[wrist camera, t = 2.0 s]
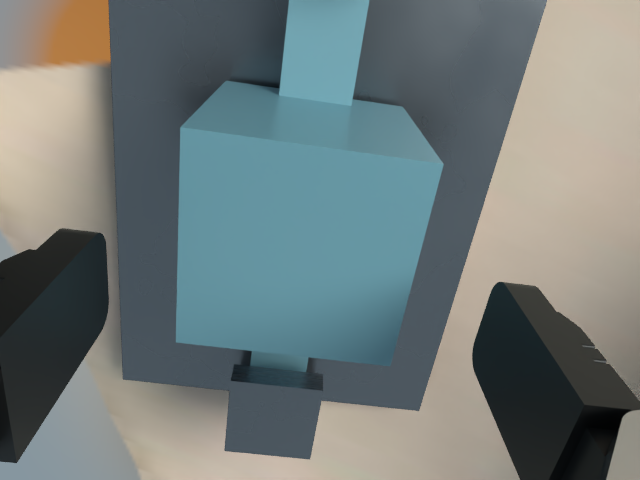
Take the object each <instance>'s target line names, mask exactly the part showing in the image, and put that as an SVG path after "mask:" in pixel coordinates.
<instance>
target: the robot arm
mask: <svg viewBox="0 0 640 480" xmlns="http://www.w3.org/2000/svg"><path fill="white" fill-rule="evenodd" d="M108 305H109V296H108V274H107V253H106V241H105V238H104V236H103V234H101V233H96V232H88V231H80V230H71V229H59V230H58V231H57V232H56V233H54V234H53V235H52V236H51V237H50V238H49V239H48V240H47V241H46V242H44V243H43V244H42V245H41V246H40V247H39V248H38V249H37V250H31V249H28V250H26V251H24V252H22V253H19V254H17V255H15V256H12V257H10V258H8V259H5V260H3V261H2V262H1V263H0V461H1V462H13V463H17V462H18V460H19V459H20V457H21V456H22V454H23V452H24V451H25V449H26V448H27V446H28V445H29V443H30V441H31V440H32V438H33V437H34V435H35V434H36V432H37V431H38V429H39V427H40V426H41V424H42V423H43V421H44V419H45V418H46V416H47V415H48V414H49V412H50V410H51V409H52V407H53V406H54V404H55V403H56V401H57V400H58V398H59V396H60V395H61V393H62V392H63V390H64V389H65V387H66V385H67V384H68V382H69V381H70V379H71V378H72V376H73V374H74V373H75V371H76V370H77V368H78V367H79V365H80V364H81V362H82V361H83V359H84V357H85V356H86V354H87V353H88V351H89V350H90V348H91V347H92V345H93V343H94V342H95V340H96V339H97V337H98V336H99V334H100V333H101V331H102V329H103V327H104V324H105V321H106V317H107V313H108ZM594 346H595V345H594V344H593V343H592V342H591V340H590V339H589V338H588V337H587V335H586V334H585V333H584V332H583V330H582V329H581V328H580V327H578V326H577V325H576V324H574V323H573V322H572V321H570V320H569V319H568V318H566V317H565V316H563V315H562V314H561V313H559V312H556V311H555V309H554V308H553V307H552V305H551V304H550V303H549V301H548V300H547V299H546V298H545V296H544V295H543V294H542V292H541V291H540V290H539V289H538V288H537V287H536V286H530V285H522V284H514V283H505V282H498V283H497V284H496V285H495V286H494V287H493V289H492V291H491V294H490V297H489V300H488V303H487V306H486V309H485V312H484V315H483V318H482V321H481V324H480V327H479V330H478V333H477V336H476V339H475V342H474V346H473V355H472V360H473V368H474V372H475V374H476V377H477V379H478V381H479V384H480V386H481V388H482V391H483V393H484V395H485V398H486V400H487V403H488V405H489V407H490V410H491V412H492V414H493V417H494V419H495V421H496V424H497V426H498V428H499V431H500V433H501V435H502V438H503V440H504V443H505V445H506V447H507V450H508V452H509V454H510V457H511V459H512V461H513V464H514V466H515V468H516V471H517V473H518V475H519V478H520V480H640V401H639V400H638V399H637V398H636V397H635V395H634V394H633V393H632V392H631V390H630V389H629V388H628V387H627V385H626V384H625V383H624V382H623V380H622V379H621V378H620V377H619V375H618V374H617V373H616V372H615V370H614V369H613V368H612V367H611V365H610V364H606V359H605V358H604V357H603V355H602V354H601V353H600V352H599V350H598V349H595V348H594Z"/></svg>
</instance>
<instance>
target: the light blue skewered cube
mask: <svg viewBox="0 0 640 480" xmlns="http://www.w3.org/2000/svg"><path fill="white" fill-rule="evenodd" d="M368 6H369V0H289V6H288V15H287V24H286V34H285V43H284V53H283V62H282V72H281V81H280V88H273V87H266V86H259V85H253V84H246V83H239V82H232V81H225V82H224V83H223V84H222V85H221V86H220V87H219V88H218V89H217V90H216V91H215V92H214V93H213V94H212V95H211V96H210V97H209V98H208V99H207V100H206V102H205V103H204V104H203V105H202V106H201V107H200V108H199V109H198V110H197V111H196V112H195V113H194V114H193V115H192V116H191V117H190V118H189V119H188V120H187V121H186V122H185V123H184V124H183V125H182V126H181V127H180V170H179V216H178V262H177V309H176V343H185V344H194V345H203V346H212V347H221V348H230V349H239V350H248V351H252V354H251V363H250V366H255V367H265V368H274V369H283V370H292V371H301V372H306V370H307V364H308V358H309V357H311V358H319V359H328V360H337V361H346V362H355V363H364V364H373V365H382V366H391V362H392V358H393V354H394V350H395V347H396V343H397V339H398V335H399V331H400V328H401V324H402V320H403V316H404V313H405V309H406V305H407V301H408V297H409V294H410V290H411V286H412V282H413V278H414V275H415V271H416V267H417V263H418V260H419V256H420V252H421V248H422V244H423V241H424V237H425V233H426V229H427V226H428V222H429V218H430V214H431V210H432V207H433V203H434V199H435V195H436V191H437V188H438V184H439V180H440V176H441V173H442V169H443V165H444V164H443V162H442V161H441V160H440V158H439V157H438V155H437V154H436V153H435V151H434V150H433V148H432V147H431V145H430V144H429V143H428V141H427V140H426V138H425V137H424V136H423V134H422V133H421V131H420V130H419V129H418V127H417V126H416V124H415V123H414V122H413V120H412V119H411V117H410V116H409V115H408V113H407V112H406V110H405V109H404V107H402V106H395V105H388V104H382V103H375V102H368V101H361V100H354V99H353V94H354V88H355V82H356V76H357V70H358V64H359V58H360V53H361V47H362V41H363V35H364V29H365V23H366V17H367V12H368Z"/></svg>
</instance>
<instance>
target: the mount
mask: <svg viewBox="0 0 640 480" xmlns="http://www.w3.org/2000/svg"><path fill="white" fill-rule="evenodd" d="M546 2H547V0H369V6H368V12H367V17H366V23H365V29H364V35H363V41H362V47H361V53H360V58H359V64H358V70H357V76H356V82H355V88H354V94H353V99H354V100H361V101H368V102H375V103H382V104H388V105H395V106H402V107H404V109H405V110H406V112H407V113H408V115H409V116H410V117H411V119H412V120H413V122H414V123H415V124H416V126H417V127H418V129H419V130H420V131H421V133H422V134H423V136H424V137H425V138H426V140H427V141H428V143H429V144H430V145H431V147H432V148H433V150H434V151H435V153H436V154H437V155H438V157H439V158H440V160H441V161H442V162H443V164H444V165H443V169H442V173H441V176H440V180H439V184H438V188H437V191H436V195H435V199H434V203H433V207H432V210H431V214H430V218H429V222H428V226H427V229H426V233H425V237H424V241H423V244H422V248H421V252H420V256H419V260H418V263H417V267H416V271H415V275H414V278H413V282H412V286H411V290H410V294H409V297H408V301H407V305H406V309H405V313H404V316H403V320H402V324H401V328H400V331H399V335H398V339H397V343H396V347H395V350H394V354H393V358H392V362H391V366H382V365H373V364H364V363H355V362H346V361H337V360H328V359H319V358H311V357H309V358H308V364H307V370H306V372H301V371H292V370H283V369H274V368H265V367H255V366H250V363H251V354H252V351H248V350H239V349H230V348H221V347H212V346H203V345H194V344H185V343H176V309H177V262H178V216H179V170H180V127H181V126H182V125H183V124H184V123H185V122H186V121H187V120H188V119H189V118H190V117H191V116H192V115H193V114H194V113H195V112H196V111H197V110H198V109H199V108H200V107H201V106H202V105H203V104H204V103H205V102H206V100H207V99H208V98H209V97H210V96H211V95H212V94H213V93H214V92H215V91H216V90H217V89H218V88H219V87H220V86H221V85H222V84H223V83H224V82H225V81H232V82H239V83H246V84H253V85H259V86H266V87H273V88H280V81H281V72H282V62H283V53H284V43H285V34H286V24H287V15H288V6H289V0H109V25H110V49H111V50H110V51H111V77H112V104H113V130H114V156H115V182H116V209H117V235H118V261H119V288H120V314H121V340H122V366H123V379H125V380H134V381H144V382H153V383H162V384H172V385H181V386H191V387H200V388H209V389H219V390H228V391H230V393H229V404H228V416H227V428H226V439H225V451H231V452H241V453H251V454H261V455H271V456H281V457H292V458H302V459H310V456H311V451H312V446H313V441H314V436H315V431H316V425H317V420H318V415H319V410H320V405H321V400H322V401H331V402H341V403H350V404H360V405H369V406H378V407H388V408H397V409H407V410H416V411H419V409H420V406H421V403H422V399H423V396H424V393H425V390H426V387H427V383H428V380H429V377H430V374H431V371H432V367H433V364H434V361H435V358H436V355H437V351H438V348H439V345H440V342H441V339H442V335H443V332H444V329H445V326H446V323H447V319H448V316H449V313H450V310H451V307H452V303H453V300H454V297H455V294H456V291H457V287H458V284H459V281H460V278H461V274H462V271H463V268H464V265H465V262H466V258H467V255H468V252H469V249H470V246H471V242H472V239H473V236H474V233H475V230H476V226H477V223H478V220H479V217H480V214H481V210H482V207H483V204H484V201H485V198H486V194H487V191H488V188H489V185H490V182H491V178H492V175H493V172H494V169H495V166H496V162H497V159H498V156H499V153H500V150H501V146H502V143H503V140H504V137H505V134H506V130H507V127H508V124H509V121H510V118H511V114H512V111H513V108H514V105H515V102H516V98H517V95H518V92H519V89H520V86H521V82H522V79H523V76H524V73H525V70H526V66H527V63H528V60H529V57H530V54H531V50H532V47H533V44H534V41H535V38H536V34H537V31H538V28H539V25H540V22H541V18H542V15H543V12H544V9H545V6H546Z"/></svg>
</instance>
